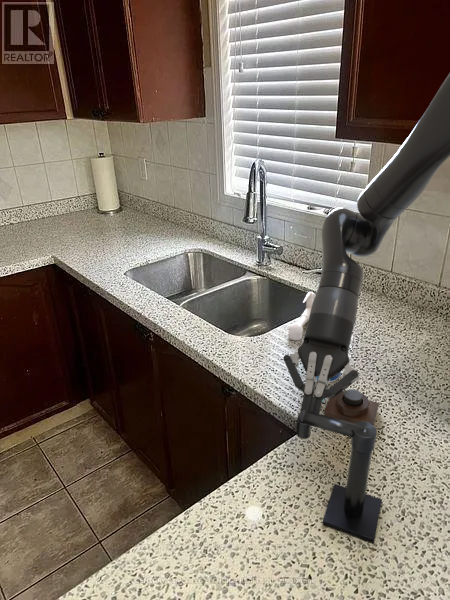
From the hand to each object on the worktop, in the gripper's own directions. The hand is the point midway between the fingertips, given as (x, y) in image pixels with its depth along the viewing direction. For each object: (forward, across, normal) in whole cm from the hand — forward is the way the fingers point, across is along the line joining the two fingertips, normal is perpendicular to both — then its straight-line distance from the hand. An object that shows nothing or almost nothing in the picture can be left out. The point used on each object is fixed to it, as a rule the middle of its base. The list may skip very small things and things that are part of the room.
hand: (308, 419), depth 72 cm
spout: (+2, +5, 0) cm, 5 cm away
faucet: (-28, -16, +50) cm, 59 cm away
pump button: (-7, +4, +24) cm, 25 cm away
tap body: (+12, +9, +10) cm, 18 cm away
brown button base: (-5, +4, +26) cm, 27 cm away
